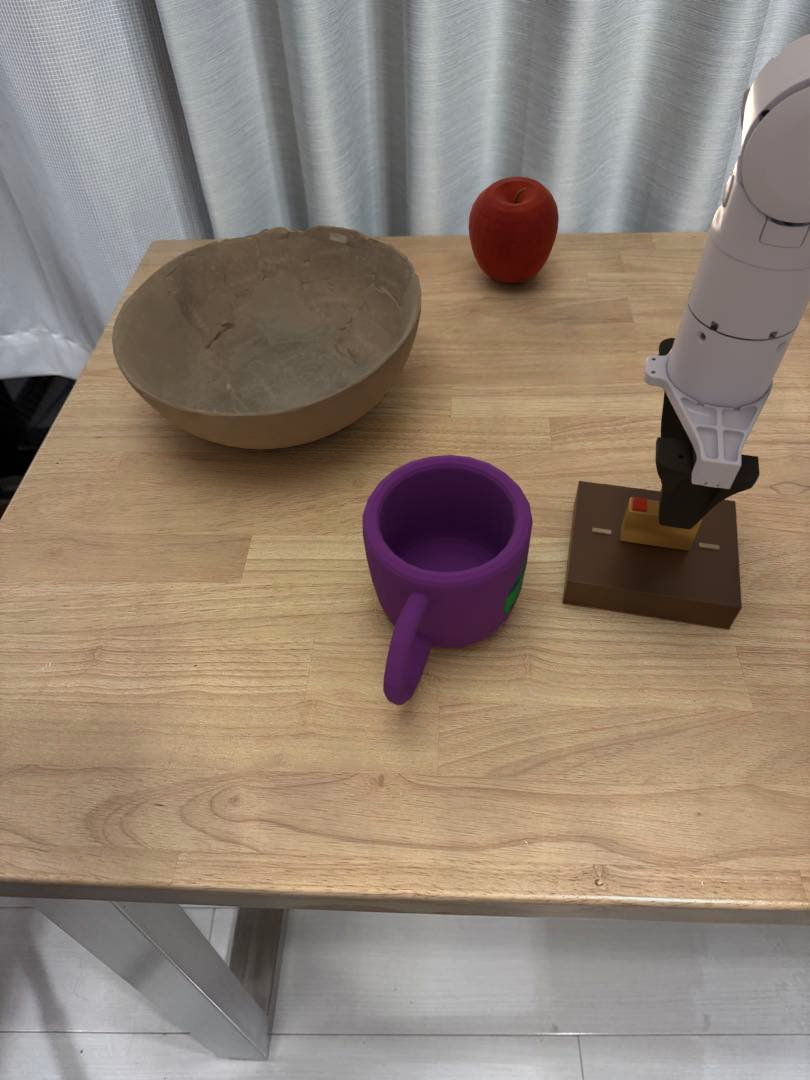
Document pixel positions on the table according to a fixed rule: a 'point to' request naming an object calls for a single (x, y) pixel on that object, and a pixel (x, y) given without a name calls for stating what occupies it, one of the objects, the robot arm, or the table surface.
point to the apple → (513, 229)
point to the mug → (443, 558)
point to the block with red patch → (653, 527)
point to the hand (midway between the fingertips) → (675, 480)
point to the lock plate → (651, 563)
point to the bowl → (271, 334)
